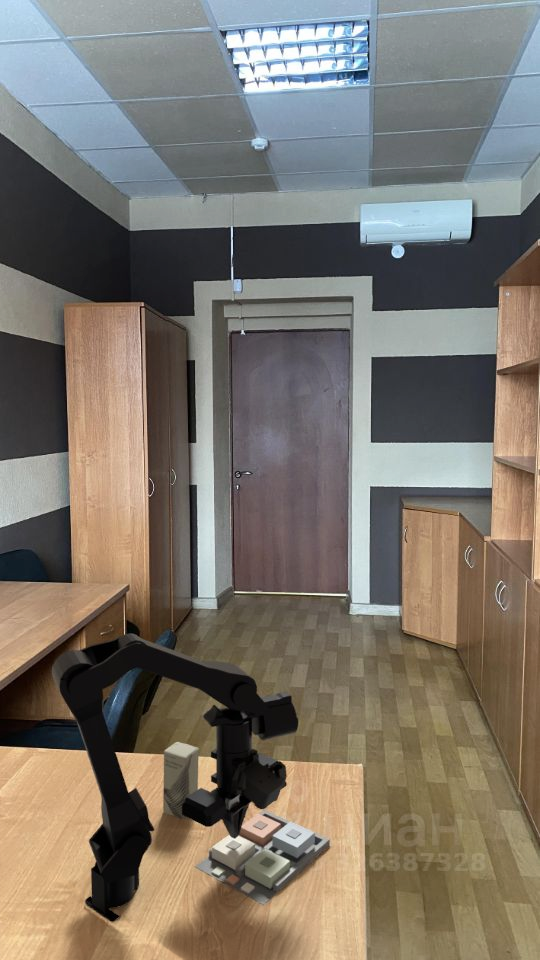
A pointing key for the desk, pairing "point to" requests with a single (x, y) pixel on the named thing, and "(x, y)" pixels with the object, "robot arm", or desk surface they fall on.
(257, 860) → the key sage
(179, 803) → the box
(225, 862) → the key ivory
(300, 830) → the key slate
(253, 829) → the key terracotta
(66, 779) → the desk surface
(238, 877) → the grey compartment tray
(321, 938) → the desk surface
